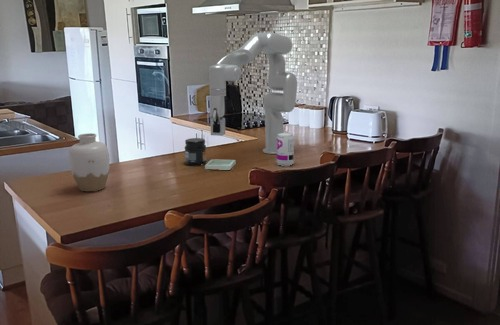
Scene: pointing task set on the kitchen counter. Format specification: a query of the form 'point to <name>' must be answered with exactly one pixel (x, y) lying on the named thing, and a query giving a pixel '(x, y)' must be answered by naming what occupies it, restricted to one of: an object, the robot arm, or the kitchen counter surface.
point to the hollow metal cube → (222, 127)
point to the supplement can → (285, 149)
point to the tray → (220, 164)
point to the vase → (89, 163)
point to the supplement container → (195, 151)
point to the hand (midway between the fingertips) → (218, 131)
